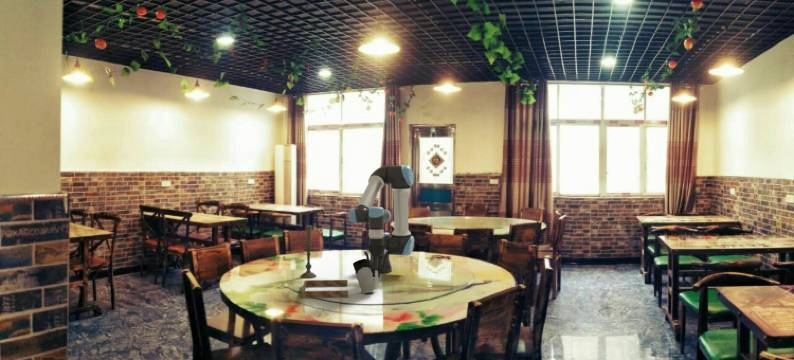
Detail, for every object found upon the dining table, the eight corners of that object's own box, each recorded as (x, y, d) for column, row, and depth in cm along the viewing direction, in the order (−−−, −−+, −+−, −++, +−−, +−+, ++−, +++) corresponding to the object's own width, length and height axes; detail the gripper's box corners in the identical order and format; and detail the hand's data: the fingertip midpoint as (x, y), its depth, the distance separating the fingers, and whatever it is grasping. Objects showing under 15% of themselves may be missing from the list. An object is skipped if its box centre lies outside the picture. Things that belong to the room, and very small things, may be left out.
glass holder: (362, 294, 240) (353, 266, 239) (357, 287, 254) (348, 261, 252) (379, 288, 243) (369, 260, 241) (372, 281, 256) (364, 255, 254)
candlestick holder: (318, 275, 284) (318, 223, 283) (313, 278, 275) (314, 225, 274) (302, 274, 285) (303, 223, 284) (298, 278, 275) (298, 225, 275)
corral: (347, 285, 259) (347, 279, 259) (348, 297, 235) (348, 290, 235) (304, 286, 257) (304, 280, 257) (300, 297, 233) (300, 291, 233)
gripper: (364, 238, 244) (364, 285, 244) (389, 238, 246) (389, 284, 246) (363, 236, 251) (363, 282, 252) (388, 236, 253) (388, 281, 253)
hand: (376, 283), depth 249 cm, fingers closed
